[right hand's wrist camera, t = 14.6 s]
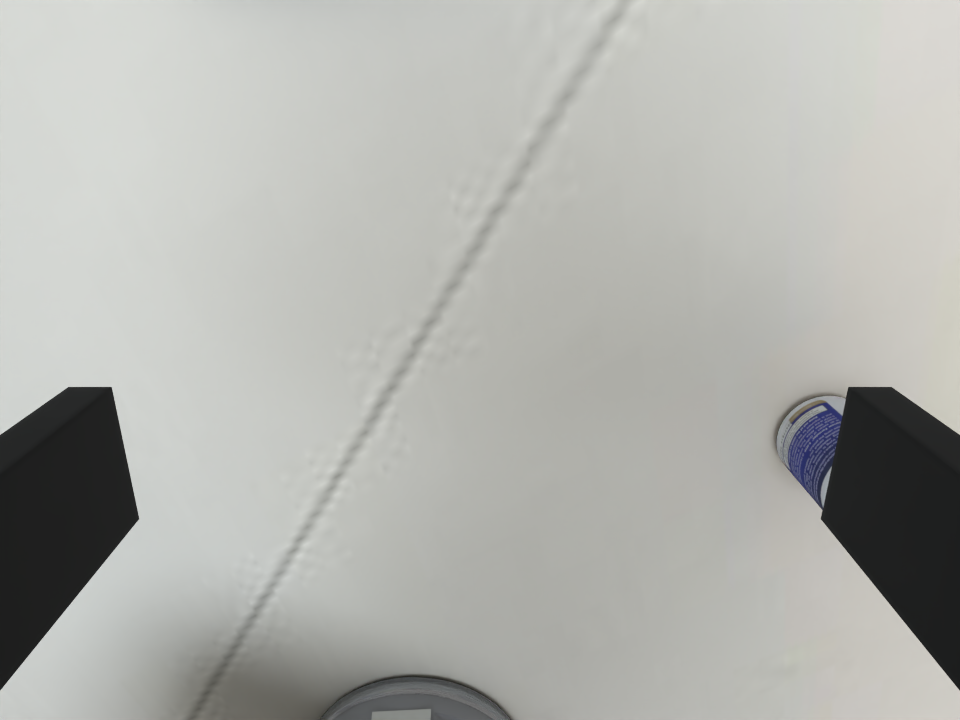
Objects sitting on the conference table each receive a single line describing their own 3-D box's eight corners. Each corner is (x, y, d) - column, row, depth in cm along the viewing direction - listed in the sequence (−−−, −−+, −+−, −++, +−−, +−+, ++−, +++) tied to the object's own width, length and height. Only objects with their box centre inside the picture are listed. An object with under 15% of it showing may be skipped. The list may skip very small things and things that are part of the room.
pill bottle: (769, 476, 41) (843, 572, 33) (779, 395, 39) (860, 476, 31) (859, 472, 41) (957, 567, 32) (873, 391, 39) (980, 470, 31)
